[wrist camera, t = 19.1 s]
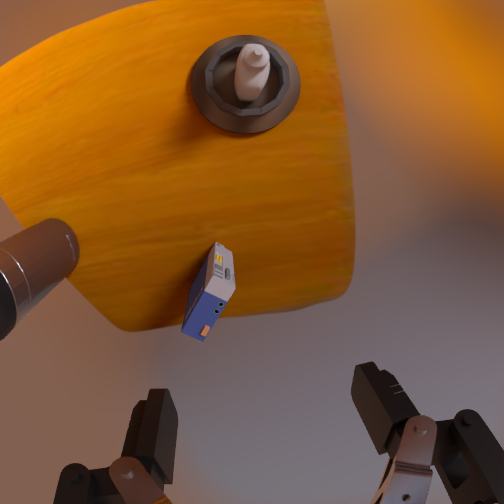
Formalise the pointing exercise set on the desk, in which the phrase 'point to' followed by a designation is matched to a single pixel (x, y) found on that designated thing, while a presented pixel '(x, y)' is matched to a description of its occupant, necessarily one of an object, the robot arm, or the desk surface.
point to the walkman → (209, 292)
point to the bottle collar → (223, 91)
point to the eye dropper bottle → (251, 72)
